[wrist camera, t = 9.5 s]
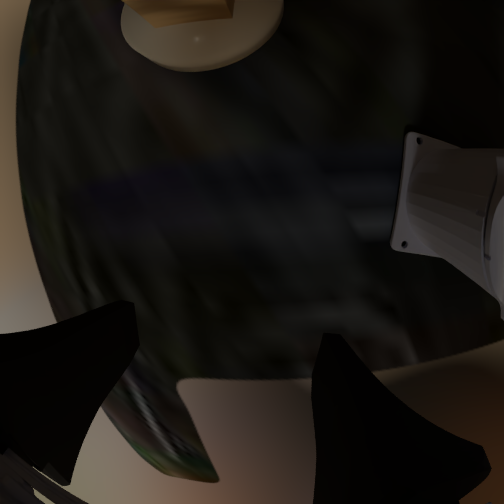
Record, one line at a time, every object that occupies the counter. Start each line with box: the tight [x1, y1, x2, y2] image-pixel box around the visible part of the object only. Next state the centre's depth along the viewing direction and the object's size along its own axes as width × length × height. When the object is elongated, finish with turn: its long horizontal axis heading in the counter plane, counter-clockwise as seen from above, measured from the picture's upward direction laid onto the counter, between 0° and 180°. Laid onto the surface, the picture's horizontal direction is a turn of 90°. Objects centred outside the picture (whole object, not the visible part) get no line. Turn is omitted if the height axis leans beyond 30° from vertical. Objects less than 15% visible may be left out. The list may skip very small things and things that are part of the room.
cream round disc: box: [121, 0, 284, 72], centre depth 12 cm, size 11×11×3 cm
